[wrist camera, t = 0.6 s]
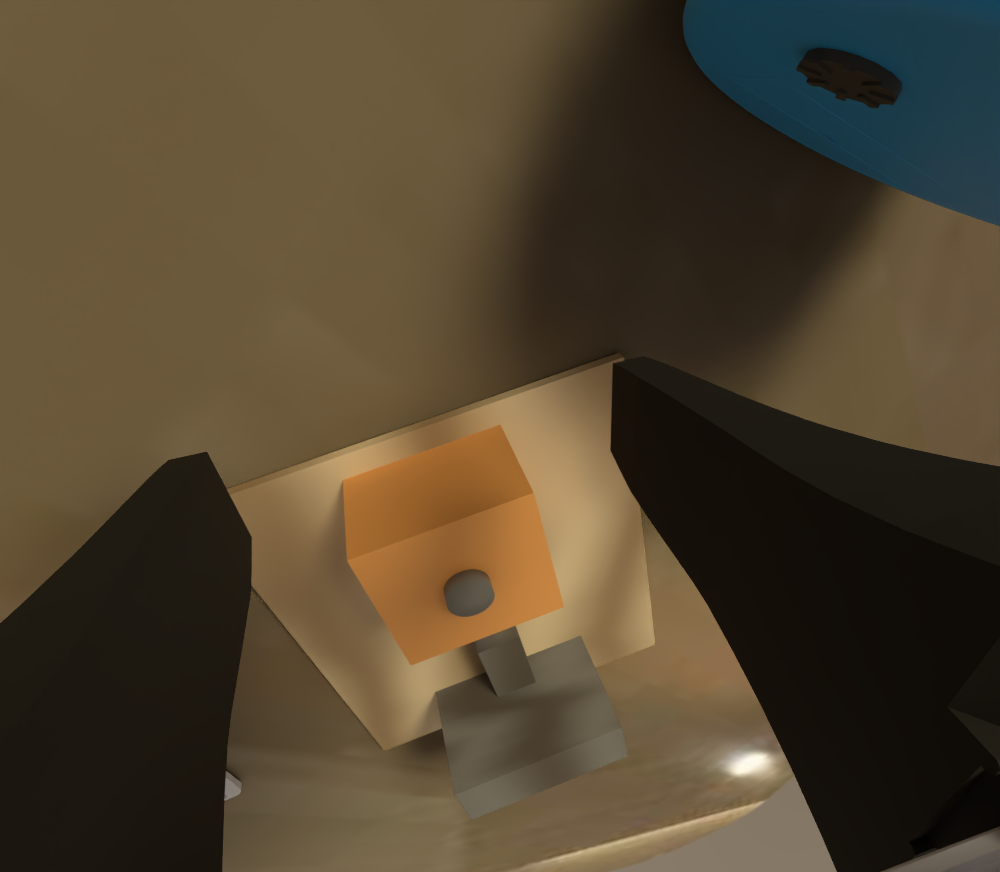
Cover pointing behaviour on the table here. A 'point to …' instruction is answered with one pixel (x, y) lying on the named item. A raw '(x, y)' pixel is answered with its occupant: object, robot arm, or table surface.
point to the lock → (450, 544)
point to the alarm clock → (869, 85)
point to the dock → (567, 519)
